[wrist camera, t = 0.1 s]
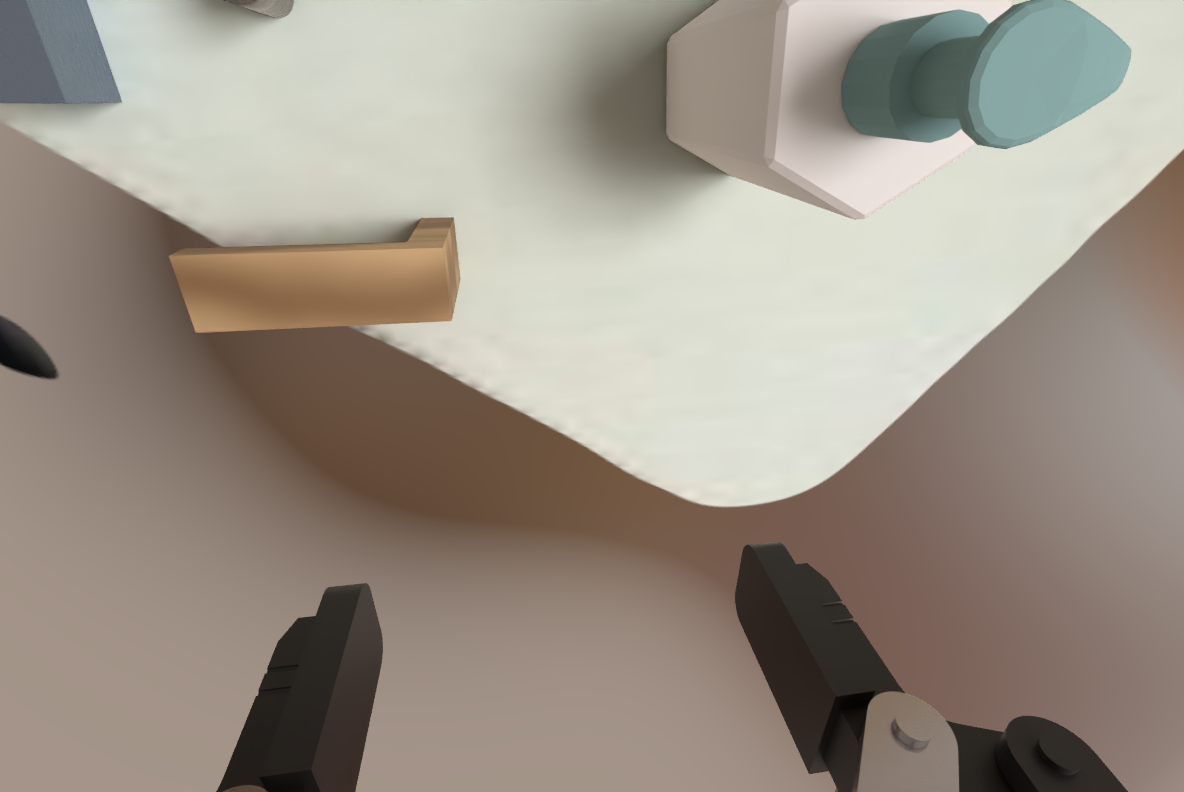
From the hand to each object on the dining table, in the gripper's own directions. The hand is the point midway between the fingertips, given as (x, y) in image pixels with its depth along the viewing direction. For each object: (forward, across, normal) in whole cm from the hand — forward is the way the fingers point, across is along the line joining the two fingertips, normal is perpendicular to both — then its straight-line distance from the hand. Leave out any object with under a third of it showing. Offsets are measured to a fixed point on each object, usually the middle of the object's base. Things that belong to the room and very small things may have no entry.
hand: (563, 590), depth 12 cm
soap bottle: (+29, -14, -10) cm, 34 cm away
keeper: (+29, +11, 0) cm, 31 cm away
